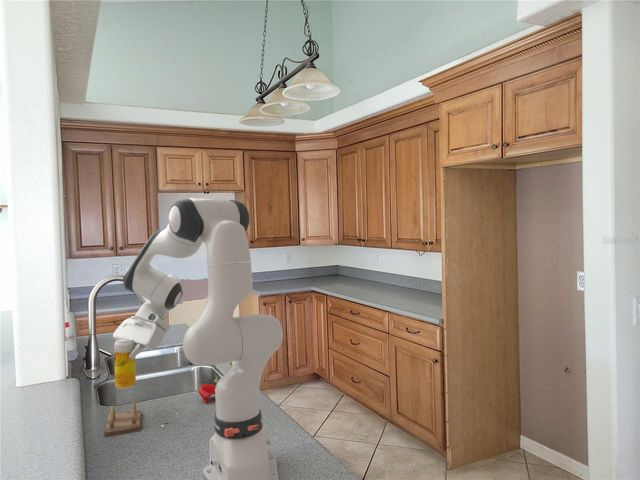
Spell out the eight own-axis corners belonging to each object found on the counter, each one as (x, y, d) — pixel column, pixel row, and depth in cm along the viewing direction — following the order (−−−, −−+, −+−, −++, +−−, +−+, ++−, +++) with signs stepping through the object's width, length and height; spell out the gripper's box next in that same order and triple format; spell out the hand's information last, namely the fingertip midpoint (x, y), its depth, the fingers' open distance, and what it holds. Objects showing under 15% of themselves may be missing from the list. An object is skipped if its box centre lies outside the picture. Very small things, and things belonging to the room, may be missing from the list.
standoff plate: (140, 430, 146) (139, 413, 146) (104, 436, 143) (103, 419, 143) (140, 413, 160) (139, 398, 159) (108, 418, 156) (107, 403, 156)
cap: (199, 397, 164) (214, 386, 165) (194, 386, 168) (208, 376, 170) (210, 409, 168) (224, 399, 170) (205, 399, 173) (219, 389, 174)
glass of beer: (112, 386, 150) (111, 339, 150) (131, 382, 154) (131, 336, 154) (118, 391, 146) (117, 343, 145) (138, 387, 150) (137, 339, 149)
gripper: (124, 310, 160) (97, 346, 153) (161, 317, 148) (135, 356, 141) (136, 320, 164) (111, 356, 157) (173, 328, 152) (148, 366, 145)
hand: (123, 356), depth 149 cm, fingers closed on glass of beer, 6 cm apart
